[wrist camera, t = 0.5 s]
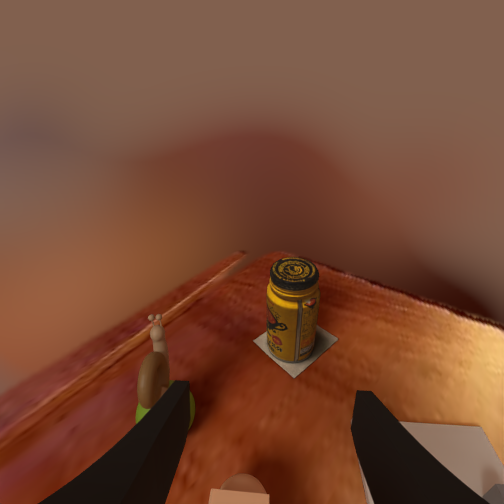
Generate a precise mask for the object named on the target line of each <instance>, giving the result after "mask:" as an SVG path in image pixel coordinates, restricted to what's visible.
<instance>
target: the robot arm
mask: <svg viewBox="0 0 504 504" xmlns="http://www.w3.org/2000/svg"><path fill="white" fill-rule="evenodd" d="M190 420H191V415H190V389H189V381H177V380H175V381H174V382H173V383H172V384H171V385H170V387H169V388H168V389H167V390H166V392H165V393H164V394H163V395H162V396H161V397H160V399H159V400H158V401H157V402H156V403H155V404H154V406H153V407H152V408H151V409H150V410H149V411H148V412H147V413H146V414H145V415H144V417H143V418H142V419H141V420H140V421H139V422H138V423H137V424H136V425H135V426H134V427H133V428H132V429H131V430H130V431H129V432H128V433H127V434H126V435H125V436H124V437H123V438H122V439H121V440H120V441H119V442H118V443H117V444H115V445H114V446H113V447H112V448H111V449H110V450H109V451H108V452H106V453H105V454H104V455H103V456H102V457H101V458H100V459H98V460H97V461H96V462H95V463H93V464H92V465H91V466H90V467H88V468H87V469H86V470H85V471H83V472H82V473H81V474H80V475H78V476H77V477H76V478H74V479H73V480H72V481H70V482H69V483H68V484H66V485H65V486H63V487H62V488H60V489H59V490H58V491H56V492H55V493H53V494H52V495H50V496H49V497H47V498H46V499H44V500H43V501H41V502H40V503H38V504H165V502H166V499H167V496H168V493H169V490H170V487H171V484H172V481H173V478H174V475H175V472H176V470H177V467H178V464H179V461H180V458H181V455H182V452H183V449H184V446H185V442H186V438H187V433H188V429H189V424H190ZM351 432H352V436H353V440H354V445H355V449H356V453H357V456H358V459H359V462H360V465H361V468H362V471H363V474H364V477H365V480H366V482H367V485H368V488H369V491H370V494H371V497H372V499H373V502H374V504H490V503H489V502H487V501H486V500H485V499H483V498H482V497H481V496H479V495H478V494H477V493H476V492H474V491H473V490H472V489H471V488H469V487H468V486H467V485H466V484H464V483H463V482H462V481H461V480H460V479H459V478H457V477H456V476H455V475H454V474H453V473H452V472H450V471H449V470H448V469H447V468H446V467H445V466H444V465H442V464H441V463H440V462H439V461H438V460H437V459H436V458H435V457H434V456H433V455H432V454H431V453H430V452H429V451H427V450H426V449H425V448H424V447H423V446H422V445H421V444H420V443H419V442H418V441H417V440H416V439H415V438H414V437H413V436H412V435H411V434H410V433H409V432H408V431H407V430H406V428H405V427H404V426H403V425H402V424H401V423H400V422H399V421H398V420H397V419H396V418H395V417H394V416H393V414H392V413H391V412H390V411H389V410H388V409H387V408H386V407H385V406H384V405H383V403H382V402H381V401H380V400H379V399H378V398H377V397H376V396H375V395H374V393H373V392H372V391H360V390H357V392H356V399H355V405H354V411H353V418H352V424H351Z"/></svg>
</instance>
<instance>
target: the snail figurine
mask: <svg viewBox="0 0 504 504" xmlns="http://www.w3.org/2000/svg"><path fill="white" fill-rule="evenodd" d="M154 318H155V317H154V315H149V316H148V319H149V320H150V321H152V322H153V320H154ZM156 319H157V320H159V321H160V320H161V319H162V315H160V314H158V315H156ZM150 336H151V339H152V340H153V348H154V352H151V353H150V354H148V355H147V356H146V357H145V359H144V361H143V363H142V365H141V368H140V371H139V376H138V385H137V393H138V400H139V404H138V407H137V411H136V424H137V423H138V422H139V421H140V420H141V419H142V418H143V417H144V415H145V414H146V413H147V412H148V411H149V410H150V409H151V408H152V407H153V406H154V404H155V403H156V402H157V401H158V400H159V399H160V397H161V396H162V395H163V394H164V393H165V392H166V390H167V389H168V388H169V387H170V385H171V384H172V383H173V382H174V381H173V380H169V373H170V368H169V355H168V347H167V343H166V340H165V330H164V328H163V327H162V325H161V321H160V325H156V326H154V322H153V328H152V329H151V332H150ZM190 415H191V420H190V424H189V428H190V427H191V425H192V422H193V420H194V416H195V401H194V398H193V395H192V393H191V392H190ZM188 430H189V429H188Z"/></svg>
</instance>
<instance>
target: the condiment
mask: <svg viewBox="0 0 504 504" xmlns="http://www.w3.org/2000/svg"><path fill="white" fill-rule="evenodd" d="M318 279H319V272H318V270H317V268H316V266H315V265H314V264H313V263H312V262H310V261H308V260H305V259H303V258H297V257H289V258H283V259H280V260H278V261H277V262H275V263H274V264H273V266H272V267H271V270H270V283H269V285H268V288H267V295H266V297H267V332H265V333H264V334H262V335H261V336H260V337H258V338H257V339H255V340H253V341H254V342H255V343H256V344H257V345H258V346H259V347H260V348H261V349H262V350H263V351H264V352H265V353H266V354H268V355H269V356H270V357H271V358H272V359H273V360H274V361H275V362H276V363H277V364H278V365H280V366H281V367H282V368H283V369H285V370H286V371H287V372H288V373H289V374H290V375H291V376H292V377H293V378H295V377H296V376H297V375H299V374H300V373H301V372H302V371H303V370H305V369H306V368H307V367H308V366H309V365H310V364H311V363H312V362H313V361H315V360H316V359H317V358H318V357H319V356H320V355H321V354H322V353H323V352H325V351H326V350H327V349H328V348H329V347H330V346H331V345H332V344H333V343H334V342H336V341H337V340H338V338H336V337H335V336H333V335H331V334H330V333H328V332H327V331H325V330H324V329H322V328H321V327H319V326H318V325H317V319H318V310H319V303H320V290H319V285H318Z"/></svg>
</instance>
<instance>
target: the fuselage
mask: <svg viewBox="0 0 504 504" xmlns="http://www.w3.org/2000/svg"><path fill="white" fill-rule="evenodd" d="M209 504H269V494H266V491H265V489H264V487H263V485H262V484H261V483H260V481H259V480H258V479H256V478H255V477H254V476H252V475H249V474H245V473H240V474H236V475H233V476H231V477H230V478H229V479H227V480H226V481H225V482H224V484H223V485H222V486H221V488H220V490H219V489H211V492H210V498H209Z"/></svg>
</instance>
